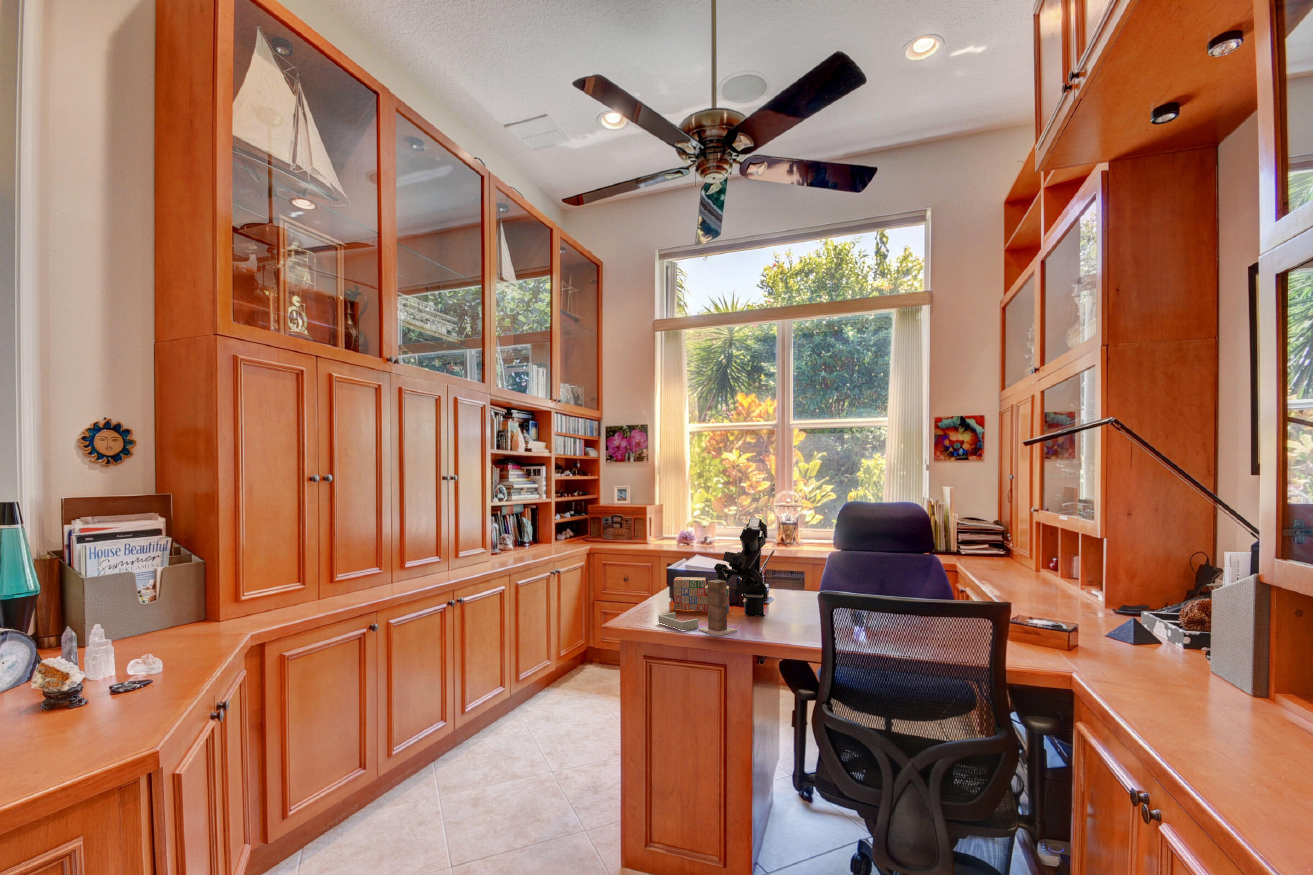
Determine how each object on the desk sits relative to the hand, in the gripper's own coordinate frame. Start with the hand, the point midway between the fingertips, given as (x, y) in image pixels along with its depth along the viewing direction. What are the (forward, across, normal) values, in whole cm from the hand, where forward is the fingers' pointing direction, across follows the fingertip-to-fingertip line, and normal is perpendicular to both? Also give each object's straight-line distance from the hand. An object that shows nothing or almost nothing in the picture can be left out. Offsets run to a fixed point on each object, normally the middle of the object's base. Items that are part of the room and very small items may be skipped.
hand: (725, 593), depth 196 cm
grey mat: (+12, 0, +5) cm, 13 cm away
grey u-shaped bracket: (+15, -13, +2) cm, 20 cm away
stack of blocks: (0, -26, +18) cm, 31 cm away
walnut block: (+11, 0, +5) cm, 12 cm away
